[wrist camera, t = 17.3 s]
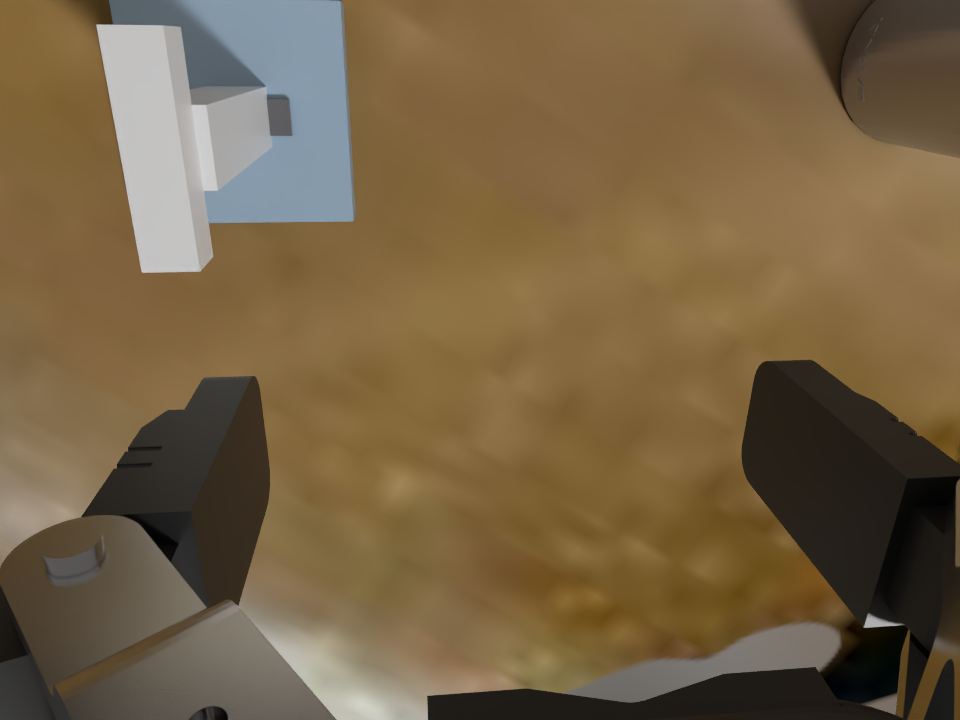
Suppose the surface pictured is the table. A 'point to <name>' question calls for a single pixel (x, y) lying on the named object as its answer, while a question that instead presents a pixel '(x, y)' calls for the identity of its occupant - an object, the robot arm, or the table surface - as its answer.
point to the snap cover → (227, 118)
